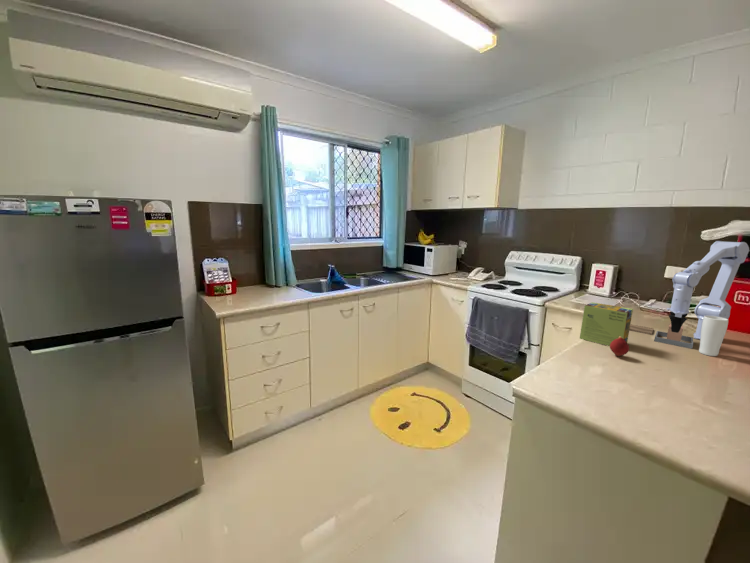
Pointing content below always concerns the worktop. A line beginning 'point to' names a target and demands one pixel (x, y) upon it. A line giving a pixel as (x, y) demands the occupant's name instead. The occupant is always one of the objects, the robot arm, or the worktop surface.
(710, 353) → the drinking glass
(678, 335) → the block
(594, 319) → the protein box
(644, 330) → the board
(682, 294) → the robot arm
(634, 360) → the worktop surface
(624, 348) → the pomegranate
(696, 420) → the worktop surface
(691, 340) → the square frame
